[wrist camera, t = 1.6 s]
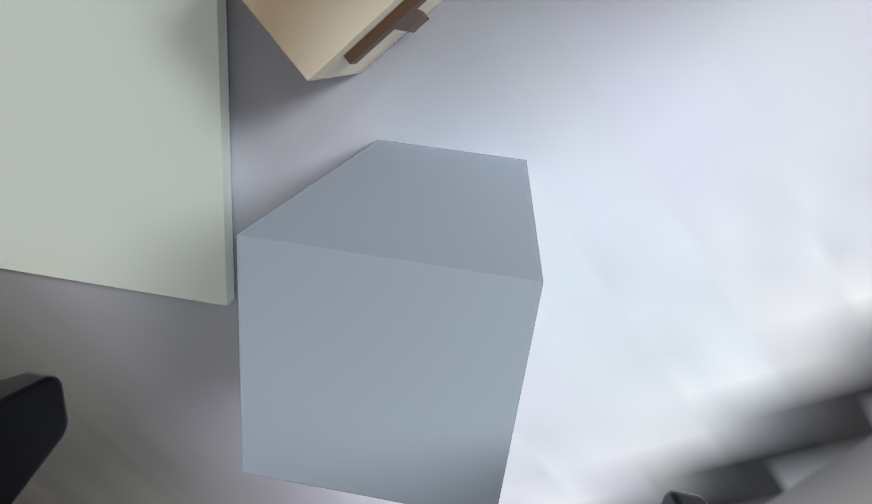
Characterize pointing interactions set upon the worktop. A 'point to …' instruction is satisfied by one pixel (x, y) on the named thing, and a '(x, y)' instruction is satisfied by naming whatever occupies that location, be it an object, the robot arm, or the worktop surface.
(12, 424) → the robot arm
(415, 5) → the beige cube
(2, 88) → the sage tile
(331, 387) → the blue gray block
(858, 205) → the worktop surface
